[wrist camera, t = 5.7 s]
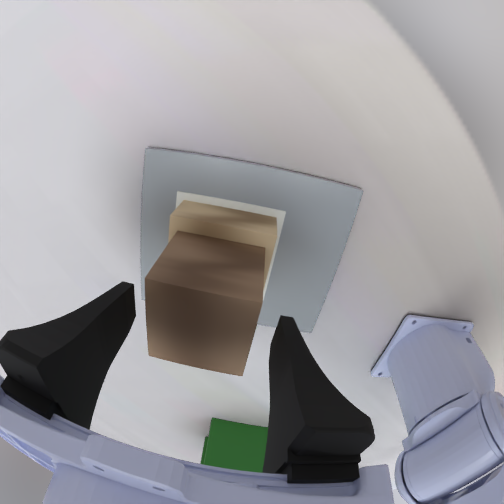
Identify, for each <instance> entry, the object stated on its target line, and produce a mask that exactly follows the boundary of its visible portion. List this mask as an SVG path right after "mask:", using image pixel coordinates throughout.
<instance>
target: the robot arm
mask: <svg viewBox="0 0 504 504" xmlns="http://www.w3.org/2000/svg"><path fill="white" fill-rule="evenodd" d="M135 317H136V310H135V296H134V284H131V283H127V282H121V283H120V284H118V285H116V286H115V287H113V288H112V289H110V290H109V291H107V292H106V293H104V294H102V295H101V296H99V297H98V298H96V299H94V300H93V301H91V302H89V303H88V304H86V305H84V306H82V307H81V308H79V309H77V310H75V311H73V312H71V313H69V314H67V315H65V316H62V317H60V318H57V319H55V320H52V321H49V322H46V323H43V324H40V325H36V326H32V327H28V328H23V329H17V330H10V331H8V332H7V333H6V334H5V335H4V337H3V338H2V339H1V340H0V364H1V366H2V367H3V369H4V371H5V372H6V374H7V377H6V378H5V380H4V378H3V377H2V376H0V437H2V438H3V439H5V440H6V441H7V442H9V443H10V444H11V445H12V446H14V447H15V448H17V449H18V450H19V451H21V452H22V453H24V454H25V455H27V456H28V457H30V458H31V459H33V460H34V461H36V462H37V463H39V464H40V465H42V466H44V467H45V468H47V469H48V470H50V471H52V472H53V473H54V474H53V476H52V479H51V481H50V484H49V486H48V489H47V492H46V494H45V497H44V500H43V502H42V504H394V500H393V492H392V486H391V480H390V474H389V468H388V465H387V464H384V465H375V466H367V467H362V468H360V469H359V467H358V463H359V462H360V461H361V457H360V454H361V453H362V452H363V451H364V450H365V449H367V448H368V447H369V446H370V445H371V444H372V443H373V441H374V439H375V434H374V429H373V425H372V422H371V419H370V417H368V416H367V415H366V414H364V413H363V412H362V411H360V410H359V409H358V408H356V407H355V406H354V405H353V404H352V403H351V402H350V401H348V400H347V399H346V398H345V397H344V396H343V395H342V394H341V393H340V392H339V391H338V390H337V389H336V387H335V386H334V385H333V384H332V383H331V382H330V381H329V379H328V378H327V377H326V376H325V374H324V373H323V372H322V370H321V369H320V367H319V366H318V364H317V363H316V361H315V359H314V358H313V356H312V354H311V353H310V351H309V349H308V347H307V345H306V343H305V341H304V339H303V337H302V335H301V333H300V331H299V329H298V327H297V324H296V322H295V320H294V318H293V317H289V316H283V315H280V318H279V321H278V324H277V327H276V330H275V333H274V336H273V339H272V342H271V346H270V357H269V382H270V414H269V425H268V434H267V443H266V451H265V458H264V465H263V471H262V473H258V472H249V471H240V470H233V469H226V468H220V467H214V466H208V465H203V464H198V463H193V462H188V461H184V460H180V459H175V458H171V457H168V456H164V455H160V454H156V453H153V452H150V451H146V450H143V449H140V448H137V447H133V446H130V445H127V444H125V443H122V442H119V441H116V440H113V439H111V438H108V437H106V436H103V435H100V434H98V433H96V432H93V431H91V430H89V429H90V425H91V420H92V416H93V413H94V409H95V406H96V402H97V399H98V396H99V393H100V390H101V387H102V384H103V382H104V379H105V377H106V374H107V372H108V370H109V367H110V365H111V363H112V362H113V360H114V358H115V356H116V355H117V353H118V351H119V349H120V347H121V346H122V344H123V342H124V340H125V339H126V337H127V335H128V333H129V331H130V329H131V327H132V324H133V322H134V319H135ZM473 327H474V325H473V323H472V322H466V321H457V320H448V319H439V318H431V317H423V316H415V315H408V316H406V317H405V319H404V320H403V322H402V324H401V325H400V327H399V329H398V330H397V332H396V334H395V335H394V337H393V339H392V340H391V342H390V344H389V345H388V347H387V348H386V350H385V351H384V353H383V354H382V356H381V357H380V359H379V360H378V362H377V363H376V365H375V366H374V368H373V369H372V371H371V375H372V376H373V377H391V378H392V381H393V384H394V387H395V390H396V394H397V397H398V400H399V403H400V407H401V410H402V413H403V417H404V420H405V424H406V428H407V431H408V435H409V436H408V437H407V438H406V439H404V440H403V441H402V443H403V447H404V451H403V452H401V453H400V455H399V456H398V458H397V461H396V465H395V483H396V487H397V489H398V492H399V493H400V495H401V497H402V498H403V499H404V500H405V501H406V502H407V503H408V504H504V464H503V465H502V466H500V467H499V468H497V469H496V470H494V471H493V472H491V473H489V474H488V475H486V476H485V477H483V478H481V479H480V480H478V481H476V482H474V483H473V484H471V485H469V486H467V487H466V488H464V489H462V490H460V491H458V492H455V493H452V492H454V491H456V490H458V489H460V488H461V487H463V486H465V485H467V484H469V483H471V482H472V481H474V480H476V479H477V478H479V477H481V476H482V475H484V474H486V473H487V472H489V471H490V470H492V469H493V468H495V467H496V466H498V465H499V464H501V463H502V462H504V397H503V396H502V395H501V394H500V393H499V392H494V389H495V379H494V373H493V371H492V368H491V367H490V365H489V363H488V361H487V360H486V358H485V356H484V355H483V353H482V351H481V350H480V348H479V346H478V345H477V343H476V341H475V340H474V338H473V337H472V335H471V333H470V332H471V330H472V329H473Z"/></svg>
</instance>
